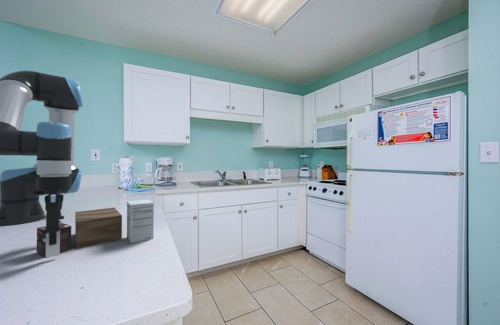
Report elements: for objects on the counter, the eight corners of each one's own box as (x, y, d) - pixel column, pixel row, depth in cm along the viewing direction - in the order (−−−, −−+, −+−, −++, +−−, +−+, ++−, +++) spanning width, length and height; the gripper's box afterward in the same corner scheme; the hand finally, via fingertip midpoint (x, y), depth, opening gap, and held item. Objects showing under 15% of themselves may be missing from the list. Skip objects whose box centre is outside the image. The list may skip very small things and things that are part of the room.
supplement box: (126, 237, 74) (126, 201, 74) (149, 232, 78) (149, 199, 78) (129, 243, 68) (129, 204, 68) (154, 238, 72) (154, 202, 72)
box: (35, 253, 60) (36, 227, 60) (62, 245, 66) (62, 222, 66) (45, 257, 58) (45, 231, 58) (71, 249, 63) (71, 225, 63)
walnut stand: (75, 233, 76) (75, 211, 76) (114, 227, 84) (114, 207, 84) (76, 247, 64) (76, 221, 64) (121, 238, 72) (121, 215, 72)
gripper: (40, 174, 69) (40, 239, 69) (30, 179, 50) (29, 268, 50) (71, 173, 74) (70, 234, 74) (71, 177, 55) (71, 259, 55)
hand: (54, 248), depth 62 cm, fingers open, 13 cm apart
